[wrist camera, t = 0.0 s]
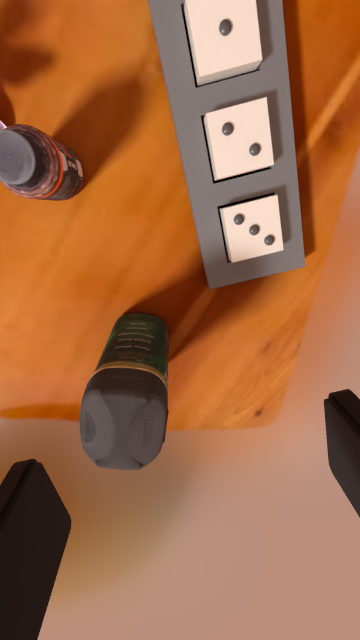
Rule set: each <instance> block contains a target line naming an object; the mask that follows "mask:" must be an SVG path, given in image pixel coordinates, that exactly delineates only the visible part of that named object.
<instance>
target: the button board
mask: <svg viewBox="0 0 360 640" xmlns="http://www.w3.org/2000/svg"><path fill="white" fill-rule="evenodd" d="M148 4H149V9H150V14H151V19H152V23H153V28H154V33H155V38H156V42H157V47H158V52H159V57H160V61H161V66H162V71H163V76H164V80H165V85H166V90H167V95H168V99H169V104H170V109H171V114H172V118H173V123H174V128H175V133H176V137H177V142H178V147H179V152H180V156H181V161H182V166H183V171H184V175H185V180H186V185H187V190H188V194H189V199H190V204H191V209H192V213H193V218H194V223H195V228H196V232H197V237H198V242H199V247H200V251H201V256H202V261H203V265H204V270H205V275H206V280H207V284H208V287H209V289H214V288H218V287H223V286H227V285H231V284H235V283H239V282H243V281H248V280H252V279H256V278H260V277H264V276H268V275H272V274H277V273H281V272H285V271H289V270H293V269H297V268H302V267H305V256H304V245H303V233H302V222H301V210H300V199H299V187H298V176H297V164H296V153H295V141H294V130H293V118H292V107H291V95H290V84H289V72H288V61H287V50H286V38H285V27H284V15H283V4H282V0H256V7H257V16H258V25H259V34H260V43H261V52H262V61H261V62H260V64H259V66H258V67H257V69H256V70H255V71H253V73H249V74H245V75H242V76H238V77H234V78H231V79H227V80H223V81H220V82H216V83H212V84H209V85H205V86H201V87H198V88H196V87H195V82H194V76H193V71H192V65H191V60H190V54H189V49H188V43H187V37H186V32H185V26H184V21H183V18H185V15H184V4H185V0H148ZM265 97H267V106H268V115H269V124H270V133H271V142H272V151H273V160H274V165H272V166H269V167H267V168H265V171H262V172H258V173H254V174H250V175H246V176H242V177H239V178H235V179H231V180H227V181H223V182H219V183H215V184H213V181H212V176H211V170H210V164H209V159H208V153H207V148H206V142H205V137H204V131H203V126H202V121H203V120H204V117H205V115H206V113H209V112H213V111H217V110H221V109H224V108H228V107H232V106H235V105H239V104H243V103H247V102H250V101H254V100H258V99H261V98H265ZM265 194H268V196H273V195H277V196H278V205H279V214H280V223H281V232H282V241H283V250H282V251H278V252H274V253H270V254H266V255H262V256H258V257H254V258H250V259H246V260H241V261H237V262H233V263H232V262H231V261H230V260H229V259H227V258H226V253H225V247H224V242H223V236H222V231H221V225H220V220H219V214H218V209H217V207H218V206H222V205H226V204H230V203H233V202H237V201H241V200H245V199H249V198H253V197H257V196H261V195H265Z"/></svg>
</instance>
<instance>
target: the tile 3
mask: <svg viewBox="0 0 360 640" xmlns="http://www.w3.org/2000/svg"><path fill="white" fill-rule="evenodd" d="M219 210H220V216H221V221H222V227H223V233H224V238H225V244H226V249H227V255H228V259H229V260H230V261H231V262H232V263H233V262H237V261H241V260H246V259H250V258H254V257H258V256H262V255H266V254H270V253H274V252H278V251H282V250H283V241H282V232H281V223H280V214H279V205H278V196H277V195H273V196H267V197H263V198H259V199H255V200H252V201H248V202H244V203H240V204H236V205H232V206H228V207H224V208H220V209H219Z"/></svg>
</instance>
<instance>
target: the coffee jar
mask: <svg viewBox="0 0 360 640" xmlns="http://www.w3.org/2000/svg"><path fill="white" fill-rule="evenodd" d="M168 351H169V334H168V327H167V325H166V323H165V322H164V321H163V320H162V319H161V318H159V317H157V316H154V315H150V314H144V313H128V314H125V315H123V316H121V317H120V318H119V319H118V320H117V321H116V323H115V325H114V327H113V329H112V332H111V334H110V337H109V339H108V342H107V344H106V347H105V349H104V351H103V353H102V356H101V358H100V360H99V363H98V365H97V367H96V369H95V372H94V373H93V374H92V375H91V377H90V379H89V381H88V384H87V387H86V389H85V392H84V395H83V398H82V402H81V411H80V433H81V443H82V446H83V449H84V451H85V452H86V454H87V455H88V457H89V458H90V459H91V460H92V461H93V462H95V463H96V465H97V466H98V467H102V468H110V469H120V470H140V469H141V468H143V467H144V466H146V465H148V464H149V463H151V462H152V461H153V460H154V459H155V458H156V457H157V455H158V454H159V452H160V450H161V447H162V444H163V443H164V441H165V433H166V426H167V418H168Z"/></svg>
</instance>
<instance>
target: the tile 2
mask: <svg viewBox="0 0 360 640" xmlns="http://www.w3.org/2000/svg"><path fill="white" fill-rule="evenodd" d="M203 121H204V126H205V132H206V138H207V143H208V149H209V154H210V160H211V166H212V171H213V177H214V181H216V180H220V179H224V178H228V177H232V176H236V175H239V174H243V173H247V172H251V171H255V170H259V169H263V168H267V167H269V166H272V165H274V160H273V151H272V142H271V133H270V124H269V115H268V106H267V97H265V98H261V99H258V100H254V101H250V102H247V103H243V104H239V105H235V106H232V107H228V108H224V109H221V110H217V111H213V112H209V113H206V115H205V117H204V120H203Z"/></svg>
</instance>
